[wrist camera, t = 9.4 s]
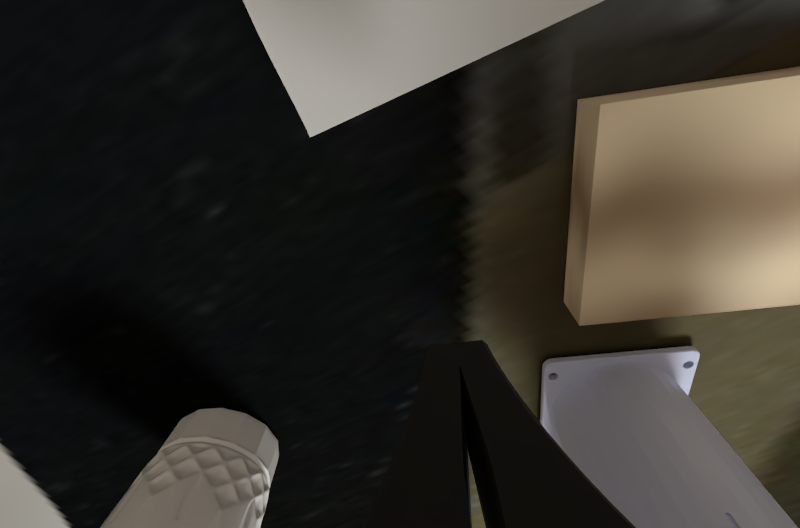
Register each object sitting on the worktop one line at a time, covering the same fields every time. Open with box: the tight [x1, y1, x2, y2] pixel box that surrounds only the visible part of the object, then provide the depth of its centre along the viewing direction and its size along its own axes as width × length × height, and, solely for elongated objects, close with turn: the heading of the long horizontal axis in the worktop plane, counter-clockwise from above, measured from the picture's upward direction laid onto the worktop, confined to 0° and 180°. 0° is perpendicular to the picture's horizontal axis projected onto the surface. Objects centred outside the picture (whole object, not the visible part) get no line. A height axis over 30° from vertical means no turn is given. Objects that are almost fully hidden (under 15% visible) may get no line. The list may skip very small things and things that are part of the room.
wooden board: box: [564, 66, 800, 326], centre depth 15 cm, size 10×13×2 cm
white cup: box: [100, 408, 279, 528], centre depth 21 cm, size 8×8×10 cm
